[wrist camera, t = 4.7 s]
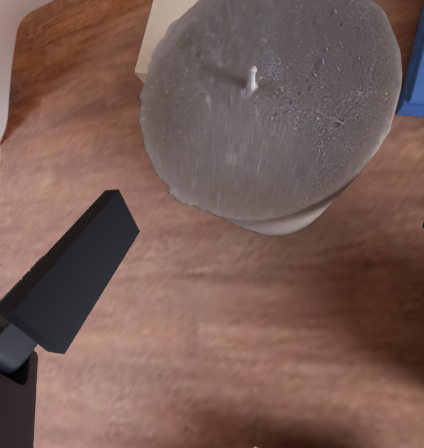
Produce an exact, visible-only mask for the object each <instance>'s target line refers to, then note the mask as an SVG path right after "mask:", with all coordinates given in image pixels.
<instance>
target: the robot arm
mask: <svg viewBox="0 0 424 448" xmlns="http://www.w3.org/2000/svg"><path fill="white" fill-rule="evenodd" d="M422 226H423V228H424V223H423V225H422ZM139 232H140V231H139V229H138V227H137V225H136V223H135V221H134V219H133V217H132V215H131V213H130V211H129V209H128V207H127V205H126V203H125V201H124V199H123V197H122V195H121V193H120V191H119V189H118V190H105V191H104V193H103V194H102V195H101V196H100V197H99V198H98V199H97V200H96V201H95V202H94V203H93V204H92V205H91V206H90V208H89V209H88V210H87V211H86V212H85V213H84V214H83V215H82V216H81V217H80V218H79V219H78V220H77V221H76V223H75V224H74V225H73V226H72V227H71V228H70V229H69V230H68V231H67V232H66V233H65V234H64V235H63V236H62V237H61V239H60V240H59V241H58V242H57V243H56V244H55V245H54V246H53V247H52V248H51V249H50V250H49V251H48V252H47V254H46V255H44V256H43V257H42V258H40V259H39V260H38V261H37V262H36V263H35V265H34V266H33V267H32V268H31V269H30V271H28V272H27V273H26V274H25V275H24V276H23V277H22V280H19V282H18V283H17V284H16V285H15V286H14V287H13V288H12V289H11V290H10V291H9V292H8V293H7V294H6V295H5V296H4V297H3V299H2V300H1V301H0V448H33V441H34V422H35V402H36V383H37V363H38V356H37V353H36V352H35V351H34V348H35V347H36V346H37V344H39V345H40V346H41V347H43V348H44V349H45V350H46V351H48V352H54V353H61V354H65V352H66V351H67V349H68V348H69V346H70V344H71V343H72V341H73V339H74V338H75V336H76V335H77V333H78V331H79V330H80V328H81V326H82V325H83V323H84V322H85V320H86V318H87V317H88V315H89V313H90V312H91V310H92V309H93V307H94V305H95V304H96V302H97V300H98V299H99V297H100V296H101V294H102V292H103V291H104V289H105V287H106V286H107V284H108V283H109V281H110V279H111V278H112V276H113V274H114V273H115V271H116V270H117V268H118V266H119V265H120V263H121V261H122V260H123V258H124V257H125V255H126V253H127V252H128V250H129V248H130V247H131V245H132V244H133V242H134V240H135V239H136V237H137V235H138V234H139Z"/></svg>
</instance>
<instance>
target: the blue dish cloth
mask: <svg viewBox="0 0 424 448" xmlns="http://www.w3.org/2000/svg"><path fill="white" fill-rule="evenodd" d="M396 114H399V115H409V116H420V117H424V4H423V8H422V12H421V16H420V20H419V24H418V28H417V32H416V36H415V40H414V44H413V48H412V52H411V56H410V60H409V64H408V68H407V72H406V75H405V79H404V83H403V87H402V91H401V95H400V99H399V103H398V107H397V111H396Z"/></svg>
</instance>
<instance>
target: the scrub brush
mask: <svg viewBox="0 0 424 448" xmlns="http://www.w3.org/2000/svg"><path fill="white" fill-rule="evenodd" d="M197 1H199V0H153V4H152V7H151V11H150V15H149V19H148V22H147V26H146V30H145V34H144V38H143V41H142V45H141V49H140V53H139V56H138V60H137V64H136V68H135V71H134V73H135V74H136V75H137V76H138V77H139V78H140V80H141V81H142V82H143V83H145V80H146V76H147V73H148V64H149V63H150V62H151V60H152V59H151V55H152V53H153V51H154V49H155V48H156V46H157V44H158V43H159V42H160V40H161V39H163V38H164V37H165V32H166V31H167V29H168V27H169V26H170V25H171V23H172V22H174V21H175V20H177V19H179V18H180V17H181V16H182V15H184V14H185V13H186V12H187V11H188V9H190V8H191V7H193V6H194V4H195V3H196V2H197Z"/></svg>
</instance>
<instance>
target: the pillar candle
mask: <svg viewBox="0 0 424 448" xmlns="http://www.w3.org/2000/svg"><path fill="white" fill-rule="evenodd" d="M151 59H152V60H151V62H150V63H149V64H148V73H147V76H146V80H145V83H144V85H143V89H142V90H141V92H140V96H139V99H141V102H142V103H141V109H140V111H139V122H140V125H141V132H142V136H143V140H144V145H143V146H144V149H145V150H146V153H147V155H148V157H149V159H150V162H151V163H152V165H153V167H154V170H155V172H156V174H157V175H158V176H159V177H160V178H161V179H162V181H163V182H164V183H165V184H166V185H167V186H168V187H169V192H168V193H171V194H172V195H173V196H174V198H175V199H176V200H178V201H180V202H181V203H183V204H186V205H191V204H192V205H194V206H195V207H197V209H200V210H204V211H206V212H208V213H211V214H213V215H215V216H218V217H221V218H222V219H224V220H226V221H228V222H231V223H235V224H237V225H239V226H241V227H243V228H245V229H248V230H250V231H252V232H255V233H261V234H263V235H275V236H276V235H282V236H284V235H288V234H291V233H294V232H297V231H299V230H301V229H303V228H305V227H306V226H308V225H310V224H311V223H312V222H313V221H314V220H315V219H316V218H317V217H319V216H320V215H321V214H322V213H323V212H324V211H325V210H326V208H327V207H328V206H329V205H330V204H331V203H332V202H333V201H334V200H335V199H336V198H337V197H338V196H339V195H340V194H341V193H342V192H343V191H344V190H345V189H346V188H347V187H348V185H349V184H350V183H351V182H352V181H353V180H354V179H355V178H356V176H357V175H358V174H359V173H360V172H361V170H362V169H363V168H364V167H365V166H366V164H367V163H368V162H369V161H370V160H371V158H372V157H373V156H374V155H375V153H376V152H377V150H378V148H379V147H380V145H381V144H382V142H383V141H384V139H385V138H386V136H387V135H388V133H389V131H390V129H391V123H392V120H393V117H394V115H395V111H396V107H397V103H398V100H399V95H400V90H401V85H402V80H401V78H402V64H401V54H400V46H399V45H398V43H397V39H396V37H395V34H394V33H393V31H392V28H391V25H390V23H389V22H388V16H387V15H386V14H385V12H384V11H383V9H382V8H380V7H379V6H378V4H377V3H376V2H374V1H373V0H199V1H197V2H196V3H195V4H194V6H193V7H191V8H190V9H188V11H187V12H186V13H185V14H184V15H182V16H181V17H180V18H179V19H177V20H175V21H174V22H172V23H171V25H170V26H169V27H168V29H167V31H166V32H165V37H164V38H163V39H161V40H160V42H159V43H158V44H157V46H156V48H155V49H154V51H153V53H152V55H151Z"/></svg>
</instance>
